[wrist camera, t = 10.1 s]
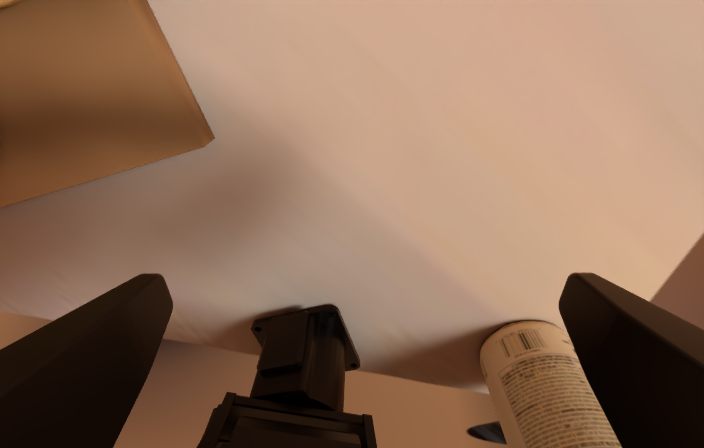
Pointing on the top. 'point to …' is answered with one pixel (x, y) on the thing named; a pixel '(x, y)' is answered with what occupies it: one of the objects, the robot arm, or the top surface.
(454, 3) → the top surface
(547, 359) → the spray can
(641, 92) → the top surface
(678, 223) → the top surface
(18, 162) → the board
